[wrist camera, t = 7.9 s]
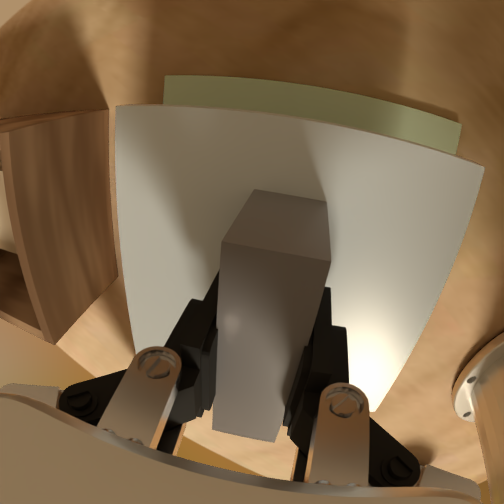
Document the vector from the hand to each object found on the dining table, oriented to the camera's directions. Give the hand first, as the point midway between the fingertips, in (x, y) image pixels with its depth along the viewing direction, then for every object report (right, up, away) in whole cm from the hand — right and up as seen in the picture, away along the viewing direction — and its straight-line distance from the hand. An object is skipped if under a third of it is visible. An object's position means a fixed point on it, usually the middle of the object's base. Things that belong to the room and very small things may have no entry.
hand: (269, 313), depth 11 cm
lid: (+1, +2, +3) cm, 4 cm away
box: (-16, +7, +9) cm, 19 cm away
